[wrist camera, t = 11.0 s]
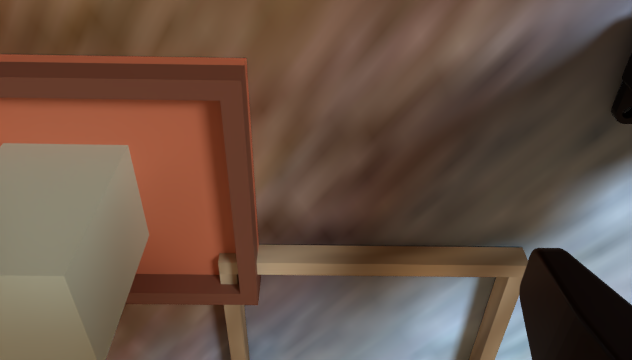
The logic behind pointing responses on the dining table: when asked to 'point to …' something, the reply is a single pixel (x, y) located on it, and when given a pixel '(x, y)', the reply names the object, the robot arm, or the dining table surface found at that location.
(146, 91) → the tray
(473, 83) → the dining table surface
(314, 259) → the tan thin square frame
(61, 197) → the sage block
